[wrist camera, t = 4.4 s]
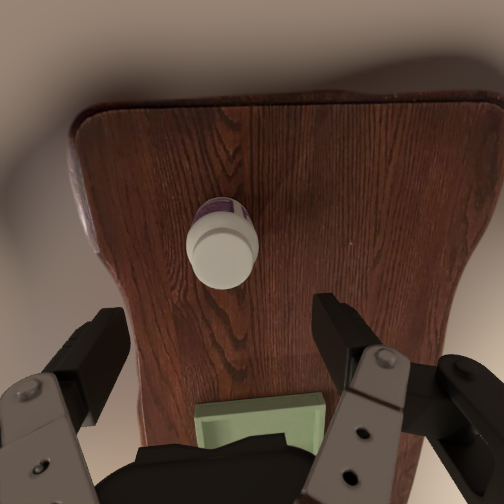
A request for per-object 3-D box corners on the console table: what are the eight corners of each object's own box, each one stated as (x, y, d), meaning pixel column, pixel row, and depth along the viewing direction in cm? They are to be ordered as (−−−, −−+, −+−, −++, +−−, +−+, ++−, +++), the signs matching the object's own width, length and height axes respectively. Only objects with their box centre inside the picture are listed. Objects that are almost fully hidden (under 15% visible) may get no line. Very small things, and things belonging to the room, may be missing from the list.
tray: (205, 478, 39) (204, 494, 38) (195, 404, 35) (194, 418, 33) (316, 465, 40) (320, 479, 39) (321, 391, 36) (326, 404, 34)
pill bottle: (186, 239, 27) (167, 284, 18) (205, 187, 26) (195, 208, 17) (238, 258, 29) (244, 309, 20) (259, 209, 27) (277, 240, 18)
